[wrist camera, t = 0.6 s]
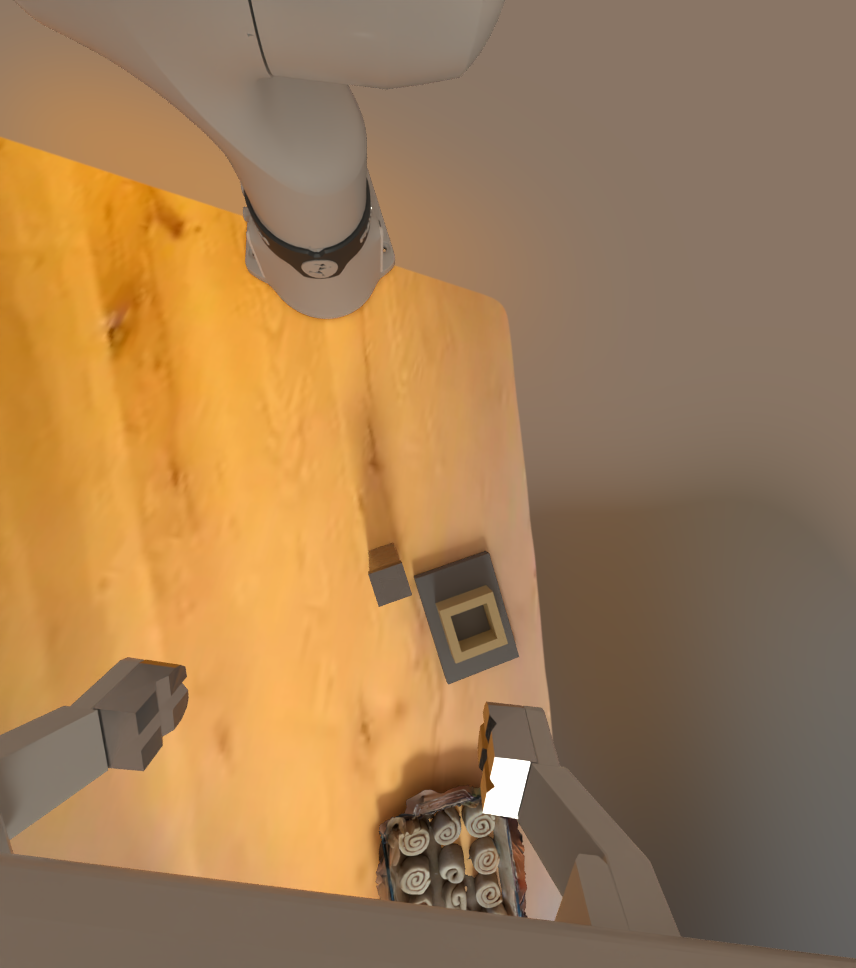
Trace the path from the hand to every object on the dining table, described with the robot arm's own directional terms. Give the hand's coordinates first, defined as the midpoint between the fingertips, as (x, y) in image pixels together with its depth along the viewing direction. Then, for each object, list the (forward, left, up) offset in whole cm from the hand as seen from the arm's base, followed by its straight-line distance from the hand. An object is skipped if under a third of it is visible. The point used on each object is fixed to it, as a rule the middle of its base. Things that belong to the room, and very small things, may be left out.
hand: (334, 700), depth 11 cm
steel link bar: (+7, +3, -44) cm, 45 cm away
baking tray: (+54, +6, -45) cm, 71 cm away
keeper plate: (+17, +13, -44) cm, 49 cm away
